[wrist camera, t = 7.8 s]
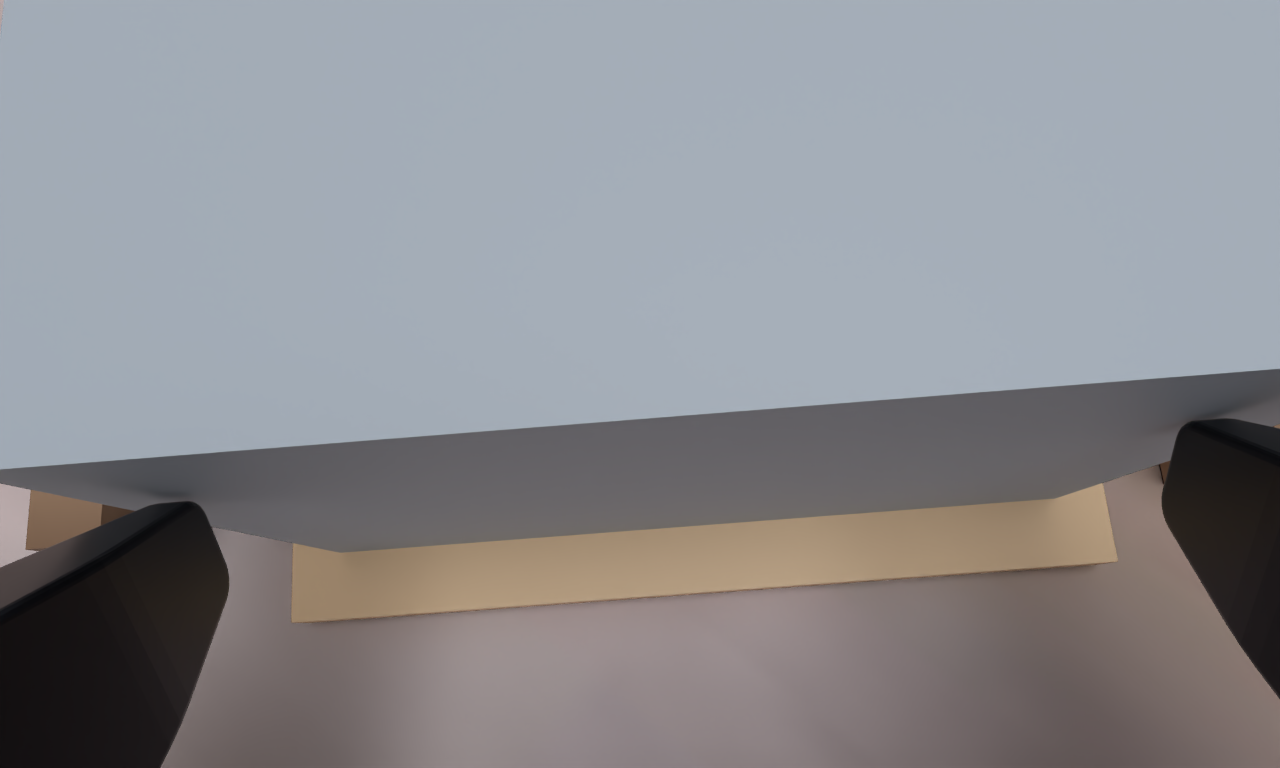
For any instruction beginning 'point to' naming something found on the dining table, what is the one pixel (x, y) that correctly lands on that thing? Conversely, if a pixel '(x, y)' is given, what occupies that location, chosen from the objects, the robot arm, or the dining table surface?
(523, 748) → the dining table surface
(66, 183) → the tea caddy
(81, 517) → the bay
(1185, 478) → the robot arm
